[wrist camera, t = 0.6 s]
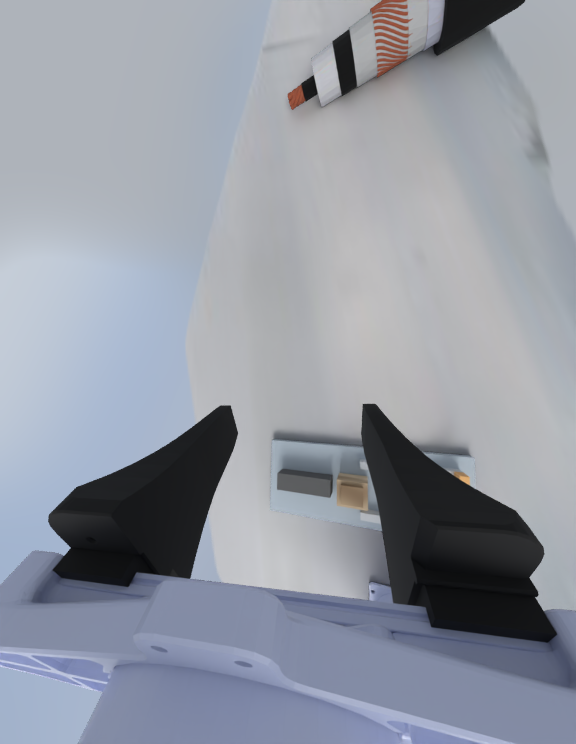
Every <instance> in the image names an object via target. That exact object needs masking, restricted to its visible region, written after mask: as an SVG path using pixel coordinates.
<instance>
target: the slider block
mask: <svg viewBox="0 0 576 744" xmlns="http://www.w3.org/2000/svg"><path fill="white" fill-rule="evenodd" d="M337 506H341V507H347V508H353V509H359V510H365V511H368V476H361V475H353V474H345V473H339V475H338V477H337Z"/></svg>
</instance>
